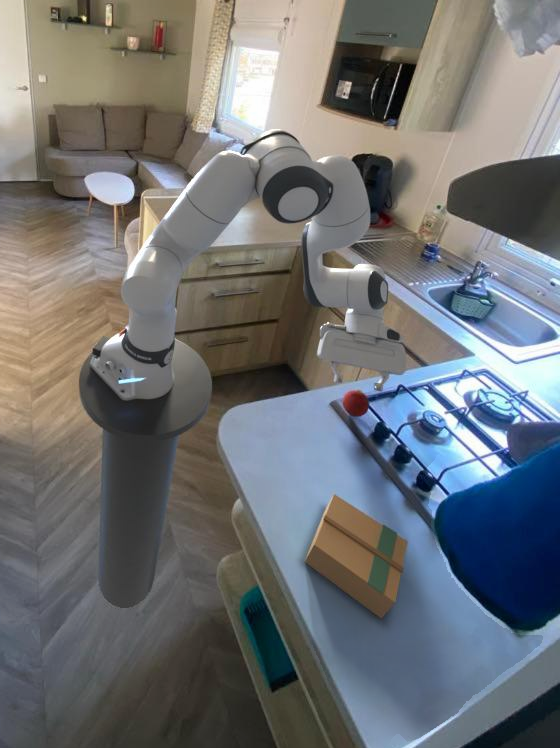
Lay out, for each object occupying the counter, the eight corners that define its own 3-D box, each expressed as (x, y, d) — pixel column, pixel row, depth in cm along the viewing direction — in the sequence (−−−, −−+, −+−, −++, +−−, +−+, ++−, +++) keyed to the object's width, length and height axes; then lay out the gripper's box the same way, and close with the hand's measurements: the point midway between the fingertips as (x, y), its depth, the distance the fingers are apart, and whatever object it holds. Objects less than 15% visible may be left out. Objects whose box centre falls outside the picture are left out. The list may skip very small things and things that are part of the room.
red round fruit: (360, 407, 105) (371, 384, 101) (365, 426, 100) (377, 403, 96) (336, 401, 105) (346, 379, 101) (340, 420, 100) (351, 397, 96)
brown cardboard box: (303, 562, 73) (313, 543, 70) (324, 510, 82) (333, 492, 78) (381, 620, 67) (396, 603, 64) (395, 558, 76) (409, 540, 72)
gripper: (324, 319, 103) (317, 377, 99) (411, 336, 101) (407, 396, 97) (317, 322, 109) (310, 377, 105) (399, 338, 107) (395, 394, 103)
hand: (357, 386), depth 101 cm, fingers open, 8 cm apart
